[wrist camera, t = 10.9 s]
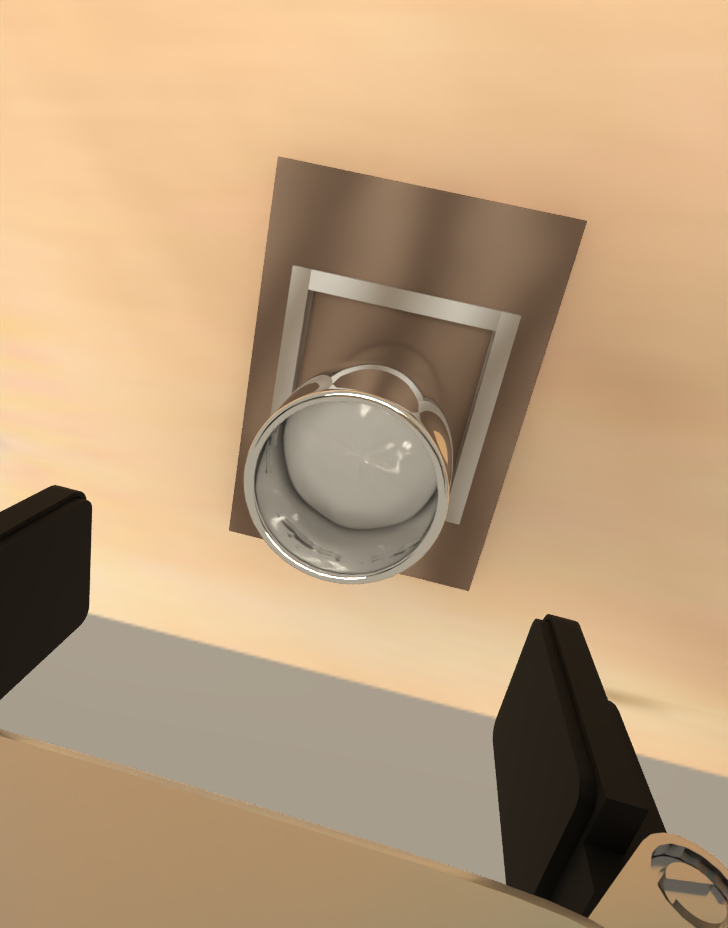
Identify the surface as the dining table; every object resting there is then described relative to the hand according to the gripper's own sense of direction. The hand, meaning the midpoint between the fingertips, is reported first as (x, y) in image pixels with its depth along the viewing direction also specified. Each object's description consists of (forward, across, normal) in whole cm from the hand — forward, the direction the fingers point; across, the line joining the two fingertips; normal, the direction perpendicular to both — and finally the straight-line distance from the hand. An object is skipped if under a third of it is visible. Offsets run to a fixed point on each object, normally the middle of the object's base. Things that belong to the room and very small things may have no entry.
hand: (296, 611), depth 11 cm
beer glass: (+22, 0, 0) cm, 22 cm away
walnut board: (+23, +1, 0) cm, 23 cm away
